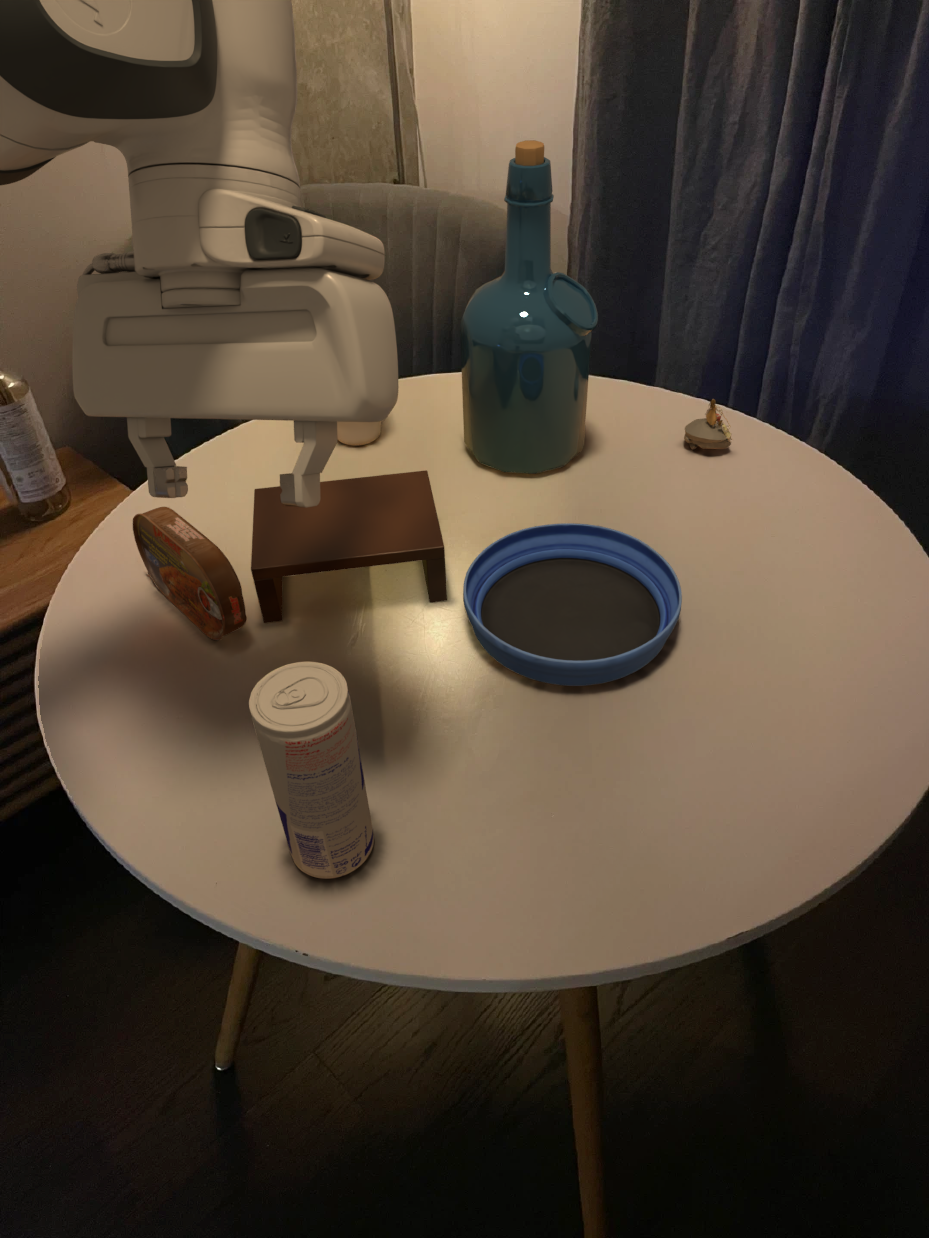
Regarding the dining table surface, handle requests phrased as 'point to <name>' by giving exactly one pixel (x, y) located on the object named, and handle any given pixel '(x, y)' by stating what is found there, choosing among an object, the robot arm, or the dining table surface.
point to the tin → (190, 571)
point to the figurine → (708, 431)
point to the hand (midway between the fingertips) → (232, 501)
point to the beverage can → (314, 766)
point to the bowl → (571, 603)
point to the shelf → (346, 533)
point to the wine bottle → (527, 340)
